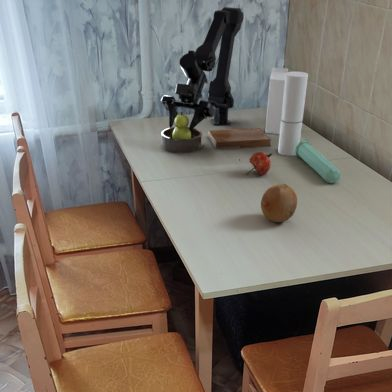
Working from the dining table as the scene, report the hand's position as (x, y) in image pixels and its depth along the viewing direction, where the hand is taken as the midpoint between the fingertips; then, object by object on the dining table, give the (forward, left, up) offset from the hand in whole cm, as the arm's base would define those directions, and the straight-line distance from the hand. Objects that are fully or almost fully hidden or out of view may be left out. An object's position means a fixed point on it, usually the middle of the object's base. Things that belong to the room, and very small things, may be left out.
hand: (179, 128), depth 188 cm
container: (+28, +41, -7) cm, 50 cm away
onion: (+61, +17, -7) cm, 64 cm away
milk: (-13, +39, -7) cm, 42 cm away
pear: (-1, +1, -6) cm, 7 cm away
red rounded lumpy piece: (+28, +21, -7) cm, 35 cm away
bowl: (-1, +1, -7) cm, 7 cm away
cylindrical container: (+10, +37, -7) cm, 39 cm away
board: (-4, +22, -7) cm, 24 cm away
